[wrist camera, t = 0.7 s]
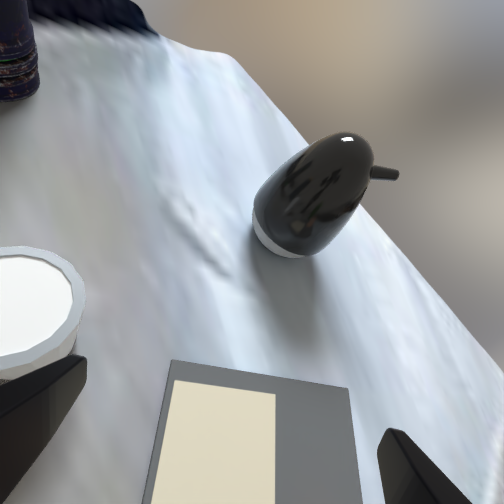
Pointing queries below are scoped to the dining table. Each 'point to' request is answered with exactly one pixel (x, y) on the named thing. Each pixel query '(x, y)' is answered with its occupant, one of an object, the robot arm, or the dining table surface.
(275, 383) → the rubber mat
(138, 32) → the dining table surface
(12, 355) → the white cup
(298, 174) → the pump dispenser
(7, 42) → the storage jar
